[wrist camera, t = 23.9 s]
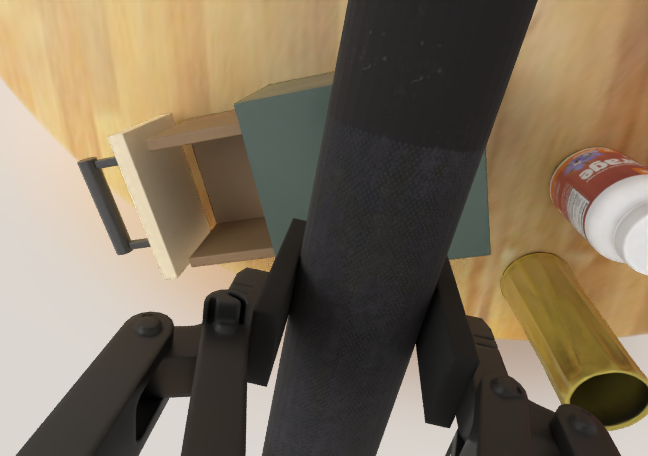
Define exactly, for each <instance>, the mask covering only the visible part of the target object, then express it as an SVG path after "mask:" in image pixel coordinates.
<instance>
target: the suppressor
mask: <svg viewBox="0 0 648 456" xmlns="http://www.w3.org/2000/svg"><path fill="white" fill-rule="evenodd" d="M537 1H538V0H348V5H347V11H346V16H345V21H344V26H343V32H342V37H341V42H340V47H339V53H338V58H337V63H336V68H335V74H334V79H333V84H332V90H331V95H330V100H329V105H328V111H327V116H326V121H325V126H324V132H323V137H322V142H321V147H320V153H319V158H318V163H317V168H316V174H315V179H314V184H313V190H312V195H311V200H310V205H309V211H308V216H307V221H306V226H305V232H304V237H303V242H302V247H301V253H300V258H299V263H298V268H297V274H296V279H295V284H294V290H293V295H292V300H291V305H290V311H289V316H288V321H287V326H286V332H285V337H284V342H283V347H282V353H281V358H280V363H279V369H278V374H277V379H276V385H275V390H274V395H273V400H272V406H271V411H270V416H269V421H268V427H267V432H266V437H265V442H264V447H263V453H262V456H376V454H377V451H378V448H379V445H380V442H381V439H382V436H383V434H384V431H385V428H386V425H387V423H388V420H389V417H390V414H391V411H392V408H393V406H394V403H395V400H396V397H397V394H398V392H399V389H400V386H401V383H402V380H403V378H404V375H405V372H406V369H407V366H408V364H409V361H410V358H411V355H412V352H413V349H414V347H415V344H416V341H417V338H418V335H419V333H420V330H421V327H422V324H423V321H424V318H425V316H426V313H427V310H428V307H429V304H430V302H431V299H432V296H433V293H434V290H435V288H436V285H437V282H438V279H439V276H440V273H441V271H442V268H443V265H444V262H445V259H446V257H447V254H448V251H449V248H450V245H451V243H452V240H453V237H454V234H455V231H456V228H457V226H458V223H459V220H460V217H461V214H462V212H463V209H464V206H465V203H466V200H467V198H468V195H469V192H470V189H471V186H472V183H473V181H474V178H475V175H476V172H477V169H478V167H479V164H480V161H481V158H482V155H483V152H484V150H485V147H486V144H487V141H488V138H489V136H490V133H491V130H492V127H493V124H494V122H495V119H496V116H497V113H498V110H499V107H500V105H501V102H502V99H503V96H504V93H505V91H506V88H507V85H508V82H509V79H510V77H511V74H512V71H513V68H514V65H515V62H516V60H517V57H518V54H519V51H520V48H521V46H522V43H523V40H524V37H525V34H526V32H527V29H528V26H529V23H530V20H531V17H532V15H533V12H534V9H535V6H536V3H537Z"/></svg>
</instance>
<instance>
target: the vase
mask: <svg viewBox="0 0 648 456" xmlns="http://www.w3.org/2000/svg"><path fill="white" fill-rule="evenodd" d="M501 289H502V294H503V296H504V298H505V299H506V300H507V301H508V303H509V305H510V306H511V308H512V310H513V312H514V314H515V315H516V317H517V319H518V321H519V322H520V324H521V326H522V327H523V329H524V331H525V333H526V335H527V337H528V339H529V341H530V343H531V345H532V347H533V348H534V350H535V352H536V354H537V356H538V358H539V359H540V361H541V364H542V365H543V367H544V369H545V371H546V374H547V376H548V378H549V380H550V382H551V384H552V386H553V388H554V390H555V392H556V394H557V396H558V398H559V400H560V402H561V405H563V404H573V405H576V406H578V407H581V408H583V409H585V410H587V411H588V412H590V413H592V414H593V415H594V416H595V417H596V418H597V419H599V420H600V421H601V423H602V424H603V425H604V427H605V428H606V429H607V431H612V430H617V429H621V428H624V427H628V426H630V425H633V424H634V423H636V422H638V421H639V420H641V419H642V418H644V417H645V416H646V415H647V414H648V379H647V377H646V376H645V375H644V373H643V372H642V371H641V370H640V369H639V367H638V366H637V365H636V363H635V362H634V361H633V359H632V358H631V357H630V355H629V354H628V352H627V351H626V350H625V348H624V347H623V345H622V344H621V343H620V341H619V340H618V338H617V337H616V336H615V334H614V333H613V331H612V330H611V328H610V327H609V325H608V324H607V323H606V321H605V320H604V319H603V317H602V316H601V314H600V313H599V311H598V310H597V308H596V307H595V305H594V304H593V303H592V301H591V300H590V298H589V297H588V295H587V294H586V293H585V291H584V290H583V289H582V287H581V286H580V284H579V283H578V282H577V280H576V278H575V277H574V275H573V274H572V272H571V270H570V268H569V266H568V265H567V263H566V262H565V261H564V260H562V259H561V258H559V257H557V256H555V255H552V254H548V253H533V254H529V255H525V256H523V257H521V258H519V259H517V260H516V261H514V262H513V263H512V264H511V265H510V266H509V267H508V268H507V269H506V271H505V272H504V274H503V277H502V280H501Z"/></svg>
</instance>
